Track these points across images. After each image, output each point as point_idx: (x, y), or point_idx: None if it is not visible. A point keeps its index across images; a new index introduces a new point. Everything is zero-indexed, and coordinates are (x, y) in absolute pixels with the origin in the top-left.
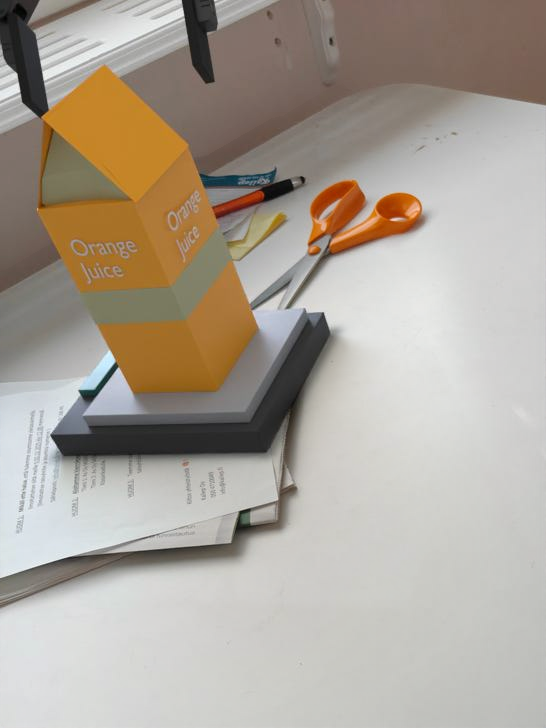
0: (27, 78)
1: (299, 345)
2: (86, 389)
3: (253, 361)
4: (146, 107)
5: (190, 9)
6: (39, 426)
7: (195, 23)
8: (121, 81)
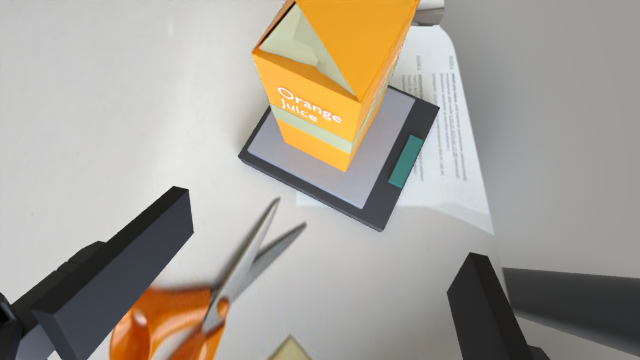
0: (481, 283)
1: (263, 122)
2: (416, 138)
3: None
4: (271, 27)
5: (108, 246)
6: (456, 157)
7: (125, 228)
8: (284, 12)
